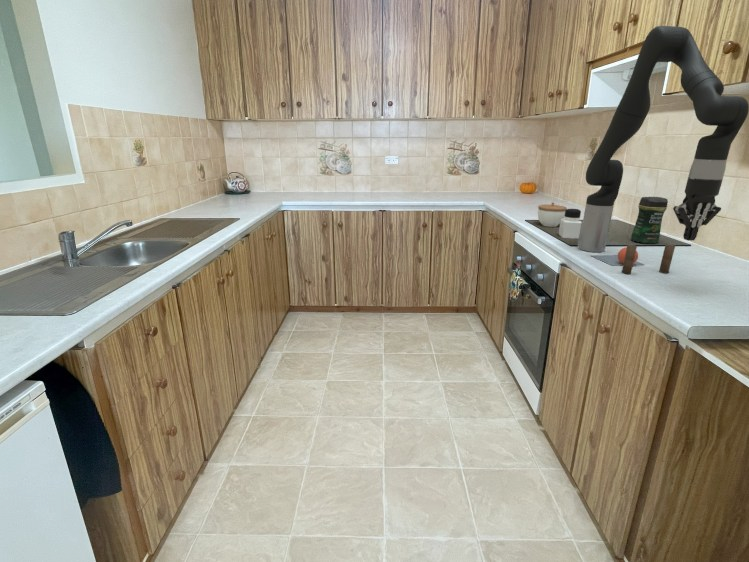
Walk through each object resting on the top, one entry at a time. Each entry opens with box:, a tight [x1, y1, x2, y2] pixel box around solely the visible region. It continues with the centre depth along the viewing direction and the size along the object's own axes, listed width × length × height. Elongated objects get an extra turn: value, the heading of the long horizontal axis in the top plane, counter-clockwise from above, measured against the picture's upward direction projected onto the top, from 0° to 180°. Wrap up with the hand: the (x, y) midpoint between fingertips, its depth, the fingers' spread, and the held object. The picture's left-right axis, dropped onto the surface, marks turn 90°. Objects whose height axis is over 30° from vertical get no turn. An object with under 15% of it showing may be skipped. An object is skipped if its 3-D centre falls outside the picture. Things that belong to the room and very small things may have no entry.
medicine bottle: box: [558, 208, 583, 240], centre depth 182 cm, size 7×7×12 cm
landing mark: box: [590, 254, 645, 267], centre depth 150 cm, size 12×12×1 cm
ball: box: [617, 246, 639, 263], centre depth 144 cm, size 6×6×6 cm
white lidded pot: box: [537, 201, 568, 228], centre depth 205 cm, size 13×13×11 cm
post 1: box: [621, 244, 638, 275], centre depth 134 cm, size 3×3×9 cm
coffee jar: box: [630, 196, 669, 244], centre depth 174 cm, size 10×8×19 cm
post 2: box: [658, 243, 676, 274], centre depth 136 cm, size 3×3×9 cm
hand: (688, 239), depth 120 cm, fingers closed
